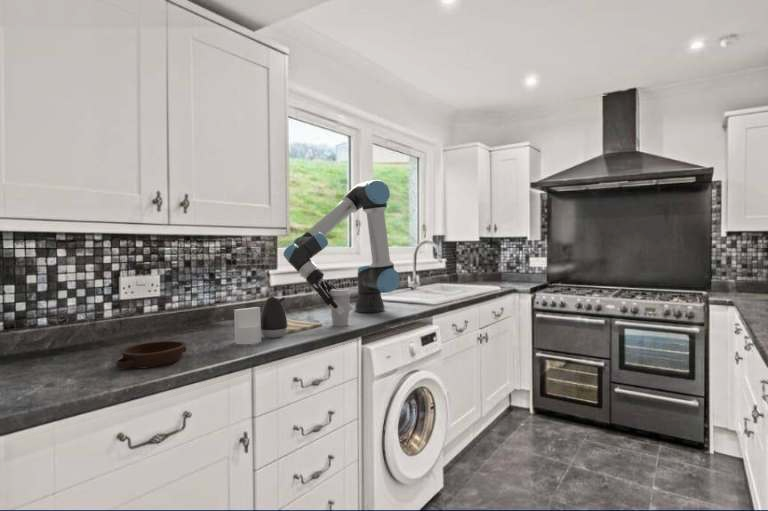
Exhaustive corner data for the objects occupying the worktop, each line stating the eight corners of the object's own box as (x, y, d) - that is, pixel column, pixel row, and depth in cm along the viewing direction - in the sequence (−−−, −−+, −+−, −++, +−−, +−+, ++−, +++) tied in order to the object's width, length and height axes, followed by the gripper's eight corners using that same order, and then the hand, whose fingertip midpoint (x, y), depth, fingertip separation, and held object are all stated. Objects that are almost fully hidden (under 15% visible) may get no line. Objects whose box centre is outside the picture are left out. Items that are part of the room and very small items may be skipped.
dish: (205, 357, 142) (205, 341, 142) (140, 376, 122) (139, 357, 122) (166, 352, 149) (166, 337, 149) (99, 369, 129) (99, 352, 129)
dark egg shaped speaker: (293, 336, 170) (292, 296, 170) (269, 341, 163) (268, 298, 163) (278, 333, 177) (277, 294, 177) (254, 337, 170) (253, 296, 169)
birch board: (289, 321, 203) (289, 319, 203) (322, 325, 191) (322, 323, 191) (252, 329, 187) (252, 326, 187) (286, 334, 175) (286, 331, 175)
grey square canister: (253, 338, 168) (252, 306, 168) (265, 341, 162) (265, 308, 161) (230, 342, 162) (229, 308, 162) (242, 346, 155) (241, 311, 155)
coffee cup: (353, 322, 198) (352, 288, 197) (349, 326, 188) (348, 290, 188) (331, 322, 199) (331, 288, 198) (326, 326, 189) (326, 290, 189)
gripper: (316, 278, 208) (350, 313, 204) (294, 282, 186) (331, 321, 182) (327, 266, 206) (361, 301, 202) (306, 269, 185) (343, 308, 181)
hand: (347, 311), depth 192 cm, fingers closed on coffee cup, 9 cm apart
